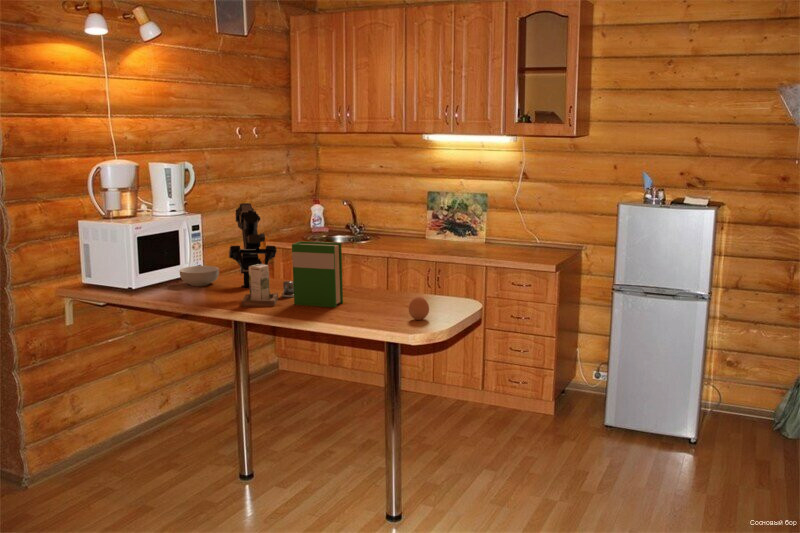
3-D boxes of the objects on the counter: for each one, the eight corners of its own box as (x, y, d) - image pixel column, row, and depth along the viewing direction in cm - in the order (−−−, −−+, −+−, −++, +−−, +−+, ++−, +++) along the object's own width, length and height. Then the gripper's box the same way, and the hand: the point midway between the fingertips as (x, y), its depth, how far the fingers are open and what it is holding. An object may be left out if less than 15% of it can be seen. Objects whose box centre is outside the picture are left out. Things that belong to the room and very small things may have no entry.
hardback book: (343, 303, 306) (341, 243, 302) (335, 307, 300) (333, 245, 295) (302, 300, 312) (300, 241, 308) (294, 304, 305) (291, 244, 301)
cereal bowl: (191, 290, 334) (190, 274, 333) (173, 284, 346) (172, 269, 345) (226, 284, 345) (225, 268, 344) (208, 279, 358) (207, 263, 356)
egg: (429, 317, 283) (429, 294, 281) (429, 322, 276) (428, 298, 274) (409, 317, 283) (408, 294, 282) (408, 322, 276) (408, 298, 275)
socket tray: (246, 299, 315) (246, 294, 315) (278, 298, 316) (277, 293, 315) (241, 307, 302) (241, 301, 302) (274, 306, 303) (274, 300, 303)
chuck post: (286, 294, 324) (285, 280, 323) (299, 295, 321) (298, 280, 320) (279, 297, 318) (278, 282, 317) (291, 298, 316) (291, 283, 315)
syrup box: (258, 298, 313) (257, 263, 310) (270, 300, 310) (268, 264, 308) (249, 301, 308) (247, 265, 305) (261, 303, 305) (259, 267, 303)
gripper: (230, 226, 313) (233, 258, 306) (276, 226, 320) (280, 258, 312) (227, 241, 322) (230, 273, 315) (272, 241, 329) (276, 272, 321)
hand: (254, 269), depth 315 cm, fingers open, 9 cm apart
